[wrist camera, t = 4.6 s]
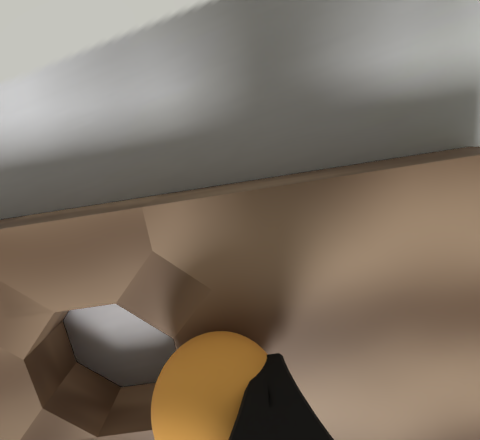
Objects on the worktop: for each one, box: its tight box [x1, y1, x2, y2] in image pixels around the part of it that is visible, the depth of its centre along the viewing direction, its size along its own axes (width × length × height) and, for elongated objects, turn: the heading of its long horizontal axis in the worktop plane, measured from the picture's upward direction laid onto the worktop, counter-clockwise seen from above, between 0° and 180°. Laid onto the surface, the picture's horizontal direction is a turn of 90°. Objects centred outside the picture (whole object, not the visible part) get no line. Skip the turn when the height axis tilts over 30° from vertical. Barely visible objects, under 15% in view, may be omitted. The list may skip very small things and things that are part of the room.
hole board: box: [0, 147, 480, 440], centre depth 12 cm, size 12×20×2 cm, turn 99°
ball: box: [151, 331, 268, 440], centre depth 9 cm, size 4×4×4 cm
